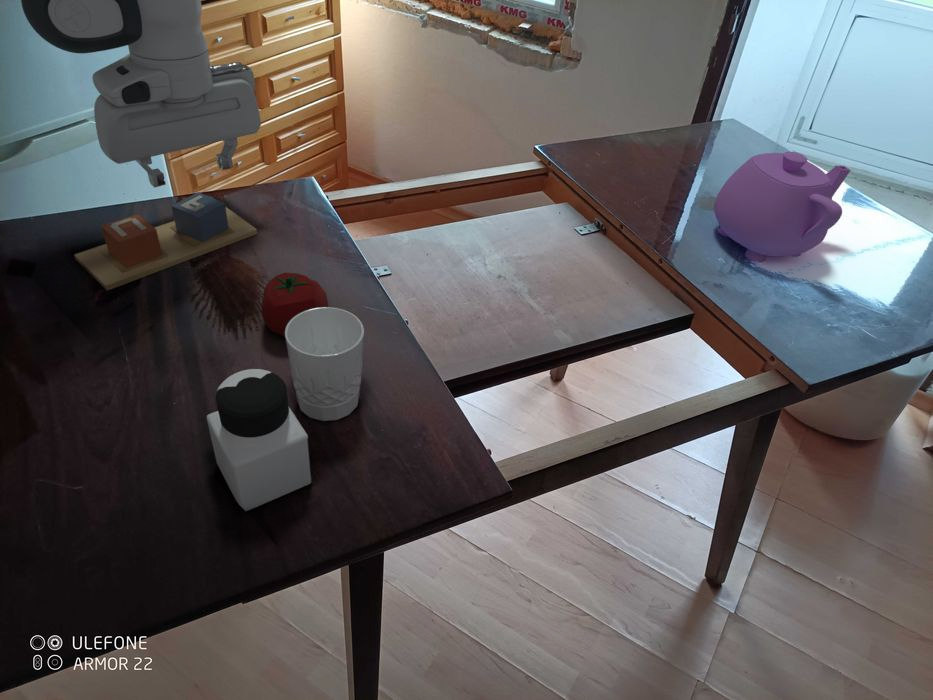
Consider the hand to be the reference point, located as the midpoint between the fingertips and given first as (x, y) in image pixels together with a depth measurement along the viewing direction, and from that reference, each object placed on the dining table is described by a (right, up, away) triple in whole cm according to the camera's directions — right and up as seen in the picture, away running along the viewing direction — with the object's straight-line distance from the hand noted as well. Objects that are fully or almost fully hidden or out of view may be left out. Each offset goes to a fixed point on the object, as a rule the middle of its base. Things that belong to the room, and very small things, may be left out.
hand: (192, 176), depth 93 cm
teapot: (+87, -7, +18) cm, 89 cm away
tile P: (-1, -6, +5) cm, 8 cm away
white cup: (+22, -29, -16) cm, 40 cm away
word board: (-4, -9, +3) cm, 10 cm away
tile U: (-7, -11, -1) cm, 13 cm away
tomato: (+16, -21, -7) cm, 27 cm away
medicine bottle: (+17, -36, -25) cm, 47 cm away
